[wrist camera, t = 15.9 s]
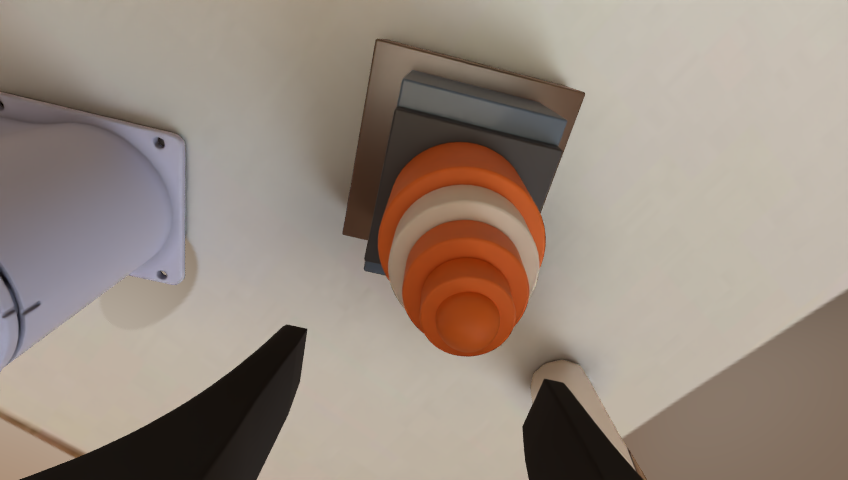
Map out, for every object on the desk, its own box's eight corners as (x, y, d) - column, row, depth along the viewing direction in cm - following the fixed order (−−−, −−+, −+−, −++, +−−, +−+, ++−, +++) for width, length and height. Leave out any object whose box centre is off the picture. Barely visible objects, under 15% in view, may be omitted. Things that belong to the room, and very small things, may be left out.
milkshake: (571, 326, 23) (652, 506, 14) (611, 391, 25) (707, 588, 16) (497, 361, 25) (529, 548, 16) (540, 421, 26) (592, 620, 17)
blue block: (378, 226, 19) (363, 271, 15) (411, 69, 16) (402, 78, 12) (489, 252, 19) (501, 302, 15) (540, 102, 16) (568, 120, 13)
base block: (352, 214, 21) (342, 234, 19) (384, 38, 18) (375, 38, 16) (509, 250, 22) (517, 275, 19) (568, 86, 18) (586, 93, 16)
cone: (366, 253, 15) (309, 413, 8) (396, 105, 13) (351, 169, 6) (507, 285, 15) (555, 463, 9) (559, 146, 13) (670, 245, 7)
